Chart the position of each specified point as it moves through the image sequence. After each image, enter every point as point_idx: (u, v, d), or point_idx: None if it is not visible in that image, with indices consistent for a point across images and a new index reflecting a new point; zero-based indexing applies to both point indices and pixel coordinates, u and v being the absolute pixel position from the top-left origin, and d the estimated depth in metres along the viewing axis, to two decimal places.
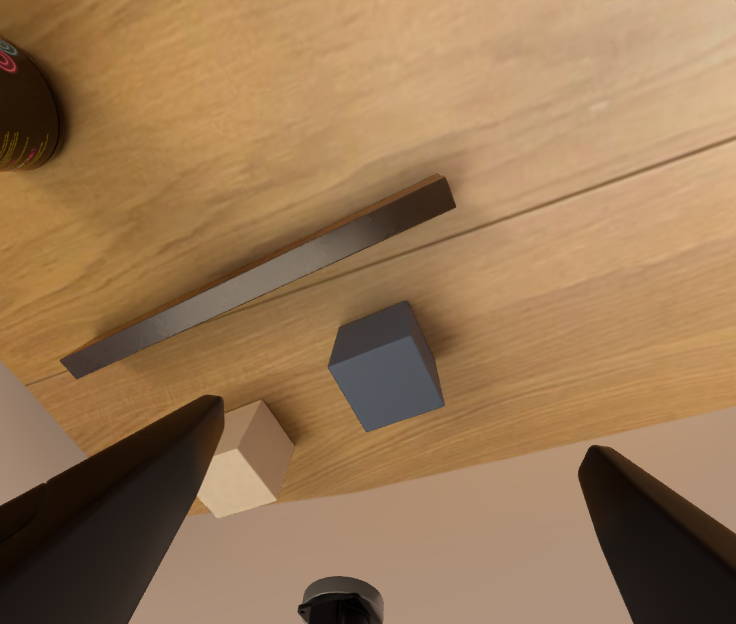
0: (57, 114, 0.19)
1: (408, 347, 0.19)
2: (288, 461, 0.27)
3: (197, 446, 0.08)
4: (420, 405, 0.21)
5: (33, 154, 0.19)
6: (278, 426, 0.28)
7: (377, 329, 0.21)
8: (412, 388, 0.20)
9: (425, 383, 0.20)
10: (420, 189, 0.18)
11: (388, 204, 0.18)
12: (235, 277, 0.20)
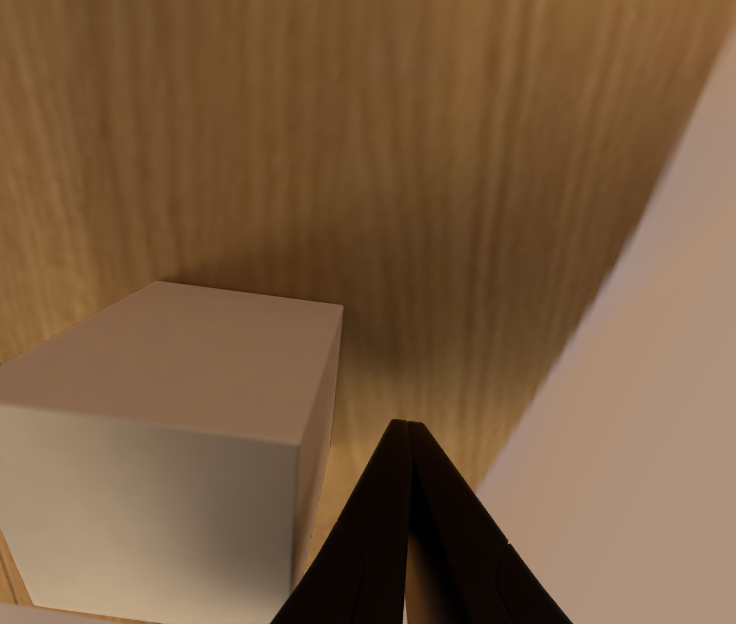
0: None
1: None
2: (325, 333, 0.08)
3: None
4: None
5: None
6: (247, 296, 0.09)
7: None
8: None
9: None
10: None
11: None
12: None
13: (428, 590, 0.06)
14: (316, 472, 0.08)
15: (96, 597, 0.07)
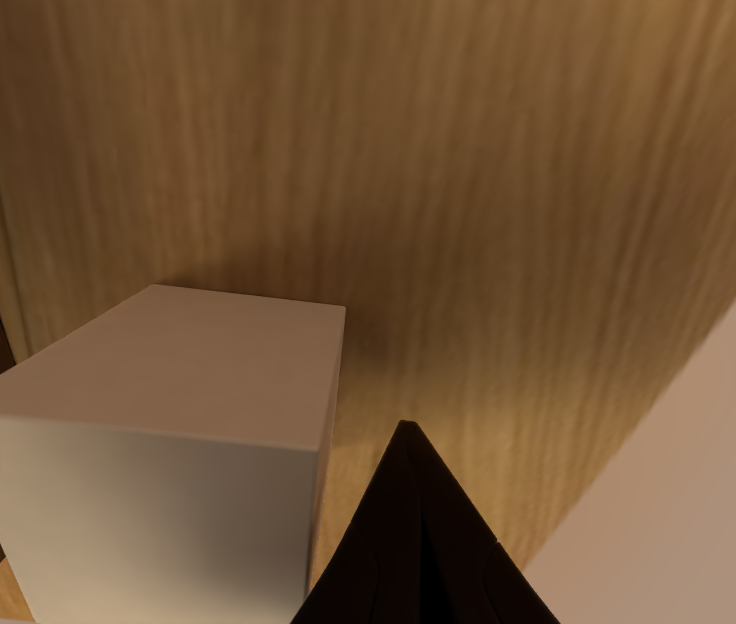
0: None
1: None
2: (331, 335, 0.08)
3: None
4: None
5: None
6: (248, 298, 0.09)
7: None
8: None
9: None
10: None
11: None
12: None
13: None
14: (324, 475, 0.08)
15: (102, 611, 0.07)
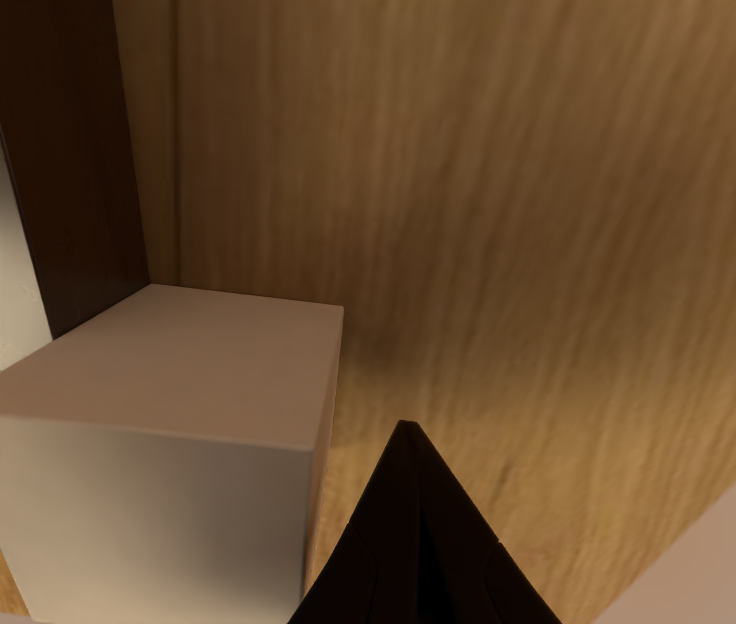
0: None
1: None
2: (329, 335, 0.08)
3: None
4: None
5: None
6: (246, 298, 0.09)
7: None
8: None
9: None
10: None
11: None
12: None
13: (419, 589, 0.06)
14: (321, 475, 0.08)
15: (99, 610, 0.07)
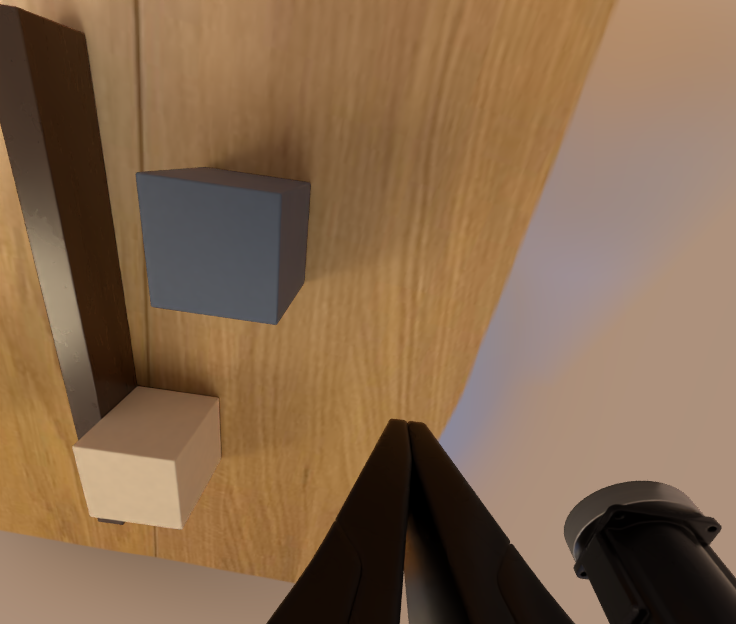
0: None
1: (154, 187, 0.12)
2: (202, 415, 0.20)
3: None
4: (262, 228, 0.13)
5: None
6: (176, 394, 0.22)
7: None
8: (226, 221, 0.13)
9: (225, 199, 0.12)
10: None
11: None
12: (51, 327, 0.17)
13: (430, 591, 0.06)
14: (198, 469, 0.20)
15: (113, 512, 0.19)
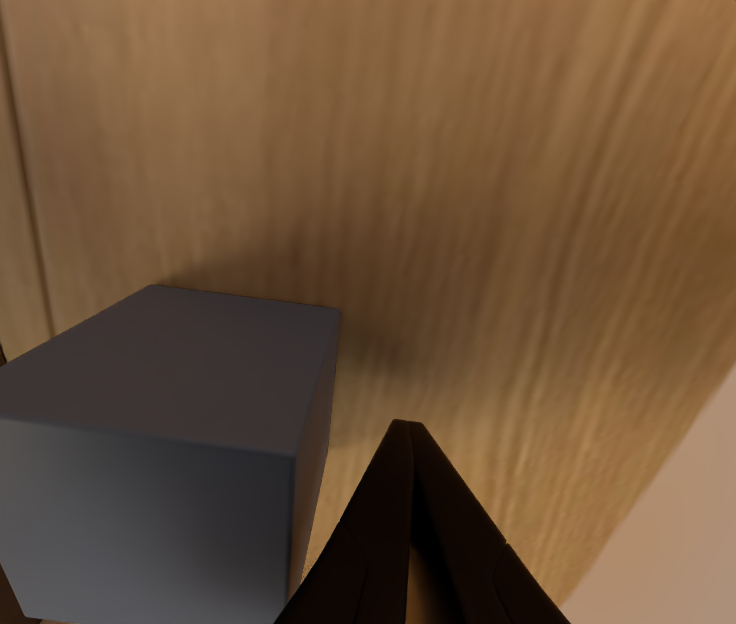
0: None
1: None
2: None
3: None
4: (250, 513, 0.05)
5: None
6: None
7: None
8: (164, 500, 0.05)
9: (158, 461, 0.05)
10: None
11: None
12: None
13: (427, 590, 0.06)
14: None
15: None
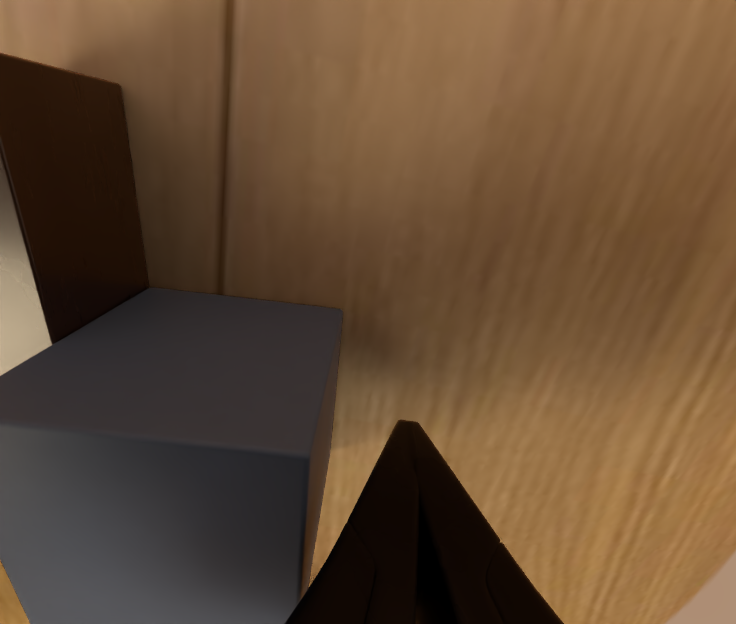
0: None
1: None
2: None
3: None
4: (263, 515, 0.05)
5: None
6: None
7: None
8: (175, 504, 0.05)
9: (169, 466, 0.05)
10: None
11: None
12: None
13: (421, 590, 0.06)
14: None
15: None
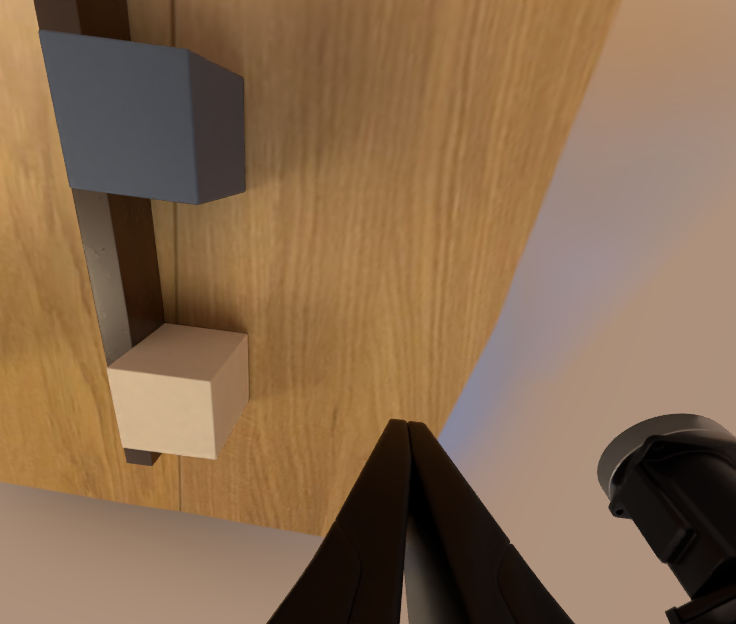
0: None
1: (58, 46, 0.12)
2: (233, 347, 0.20)
3: None
4: (173, 90, 0.12)
5: None
6: (205, 330, 0.21)
7: None
8: (135, 83, 0.12)
9: (132, 57, 0.12)
10: None
11: None
12: (83, 245, 0.17)
13: (430, 591, 0.06)
14: (229, 401, 0.20)
15: (146, 442, 0.19)
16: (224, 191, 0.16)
